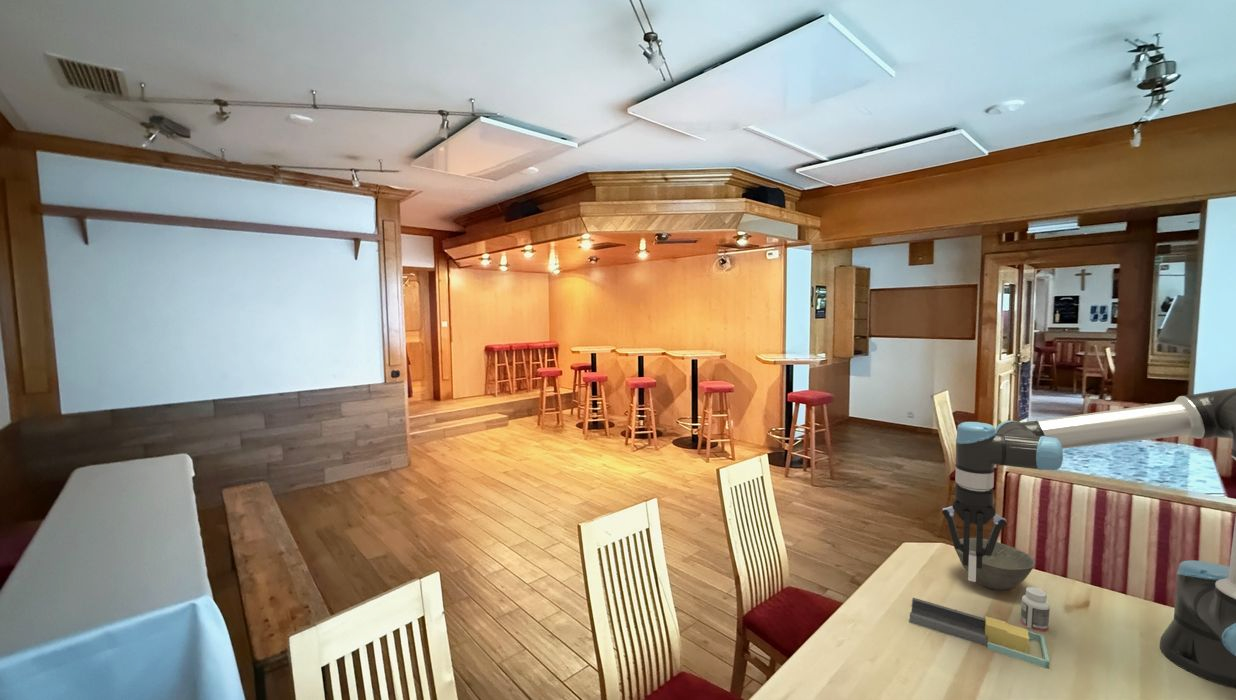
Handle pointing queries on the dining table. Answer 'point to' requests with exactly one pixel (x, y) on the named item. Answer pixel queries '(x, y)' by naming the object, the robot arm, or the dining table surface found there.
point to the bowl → (1000, 566)
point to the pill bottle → (1035, 609)
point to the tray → (1024, 656)
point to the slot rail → (949, 621)
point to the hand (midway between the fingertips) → (971, 578)
